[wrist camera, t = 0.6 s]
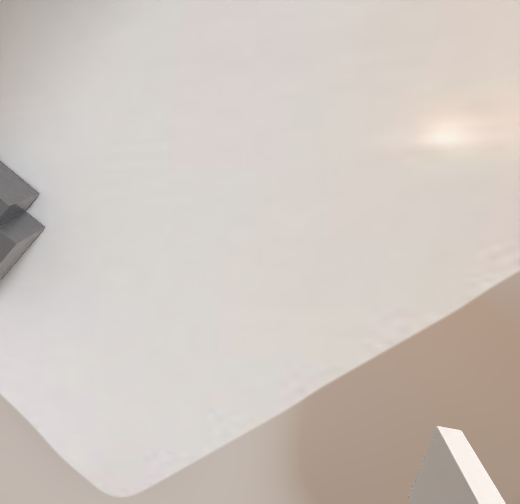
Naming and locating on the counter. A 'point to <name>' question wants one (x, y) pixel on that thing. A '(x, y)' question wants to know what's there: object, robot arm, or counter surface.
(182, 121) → the counter surface
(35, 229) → the v block
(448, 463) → the robot arm
